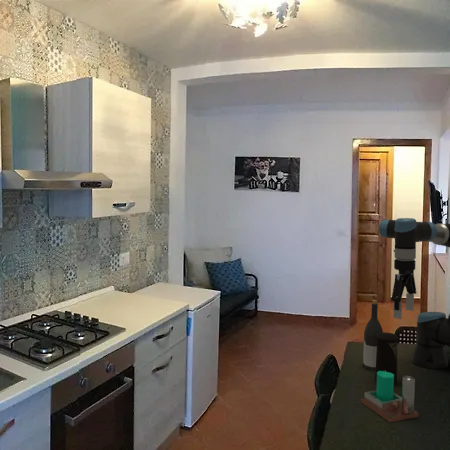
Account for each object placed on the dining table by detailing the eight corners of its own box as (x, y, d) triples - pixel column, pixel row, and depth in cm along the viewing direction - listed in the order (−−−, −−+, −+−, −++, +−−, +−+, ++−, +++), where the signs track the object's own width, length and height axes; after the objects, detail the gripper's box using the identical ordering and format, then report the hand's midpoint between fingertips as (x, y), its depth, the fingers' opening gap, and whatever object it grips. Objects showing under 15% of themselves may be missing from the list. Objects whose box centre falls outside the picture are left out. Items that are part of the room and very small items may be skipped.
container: (398, 387, 191) (400, 338, 189) (375, 385, 193) (376, 336, 191) (395, 378, 199) (397, 331, 198) (373, 376, 201) (374, 330, 199)
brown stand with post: (387, 397, 181) (389, 362, 180) (418, 416, 166) (419, 379, 165) (361, 402, 177) (362, 366, 176) (389, 422, 162) (391, 383, 161)
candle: (372, 400, 175) (373, 368, 174) (384, 397, 178) (385, 365, 177) (384, 407, 170) (385, 374, 169) (396, 403, 173) (398, 371, 172)
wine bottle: (381, 371, 206) (384, 303, 204) (362, 369, 209) (364, 301, 207) (382, 365, 214) (384, 299, 212) (363, 363, 217) (365, 297, 214)
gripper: (406, 254, 193) (405, 305, 195) (382, 263, 174) (381, 320, 176) (425, 255, 188) (424, 308, 190) (403, 265, 169) (402, 323, 171)
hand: (403, 314), depth 183 cm, fingers open, 13 cm apart
